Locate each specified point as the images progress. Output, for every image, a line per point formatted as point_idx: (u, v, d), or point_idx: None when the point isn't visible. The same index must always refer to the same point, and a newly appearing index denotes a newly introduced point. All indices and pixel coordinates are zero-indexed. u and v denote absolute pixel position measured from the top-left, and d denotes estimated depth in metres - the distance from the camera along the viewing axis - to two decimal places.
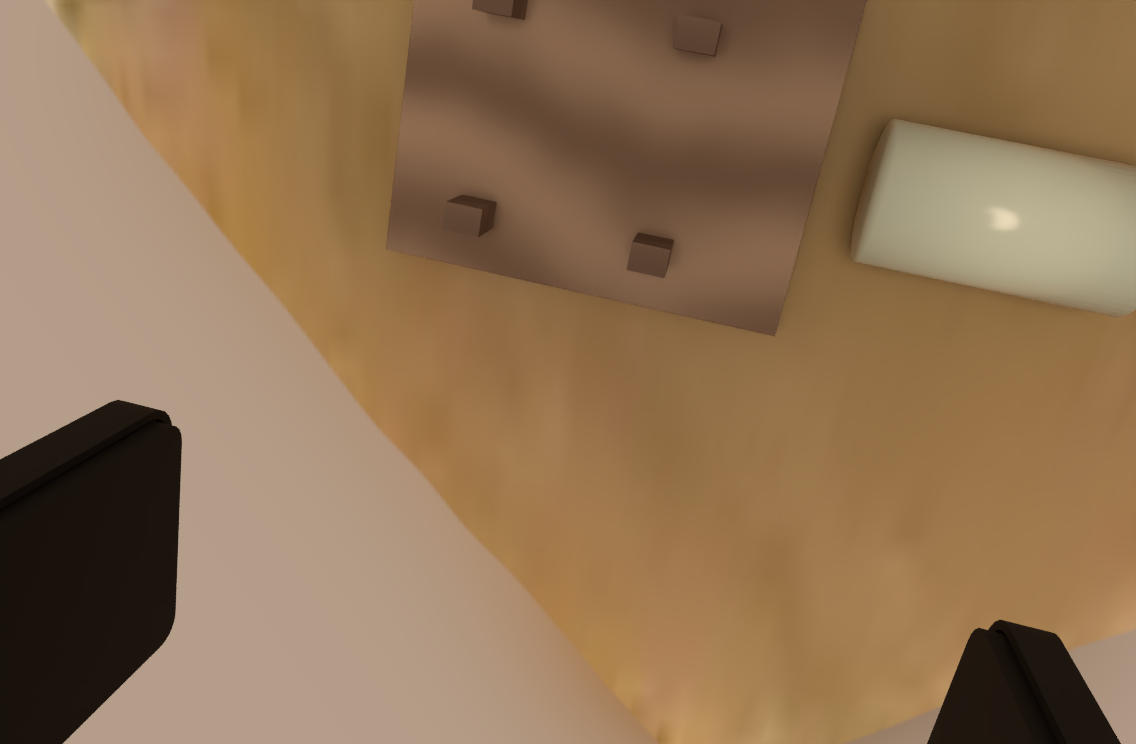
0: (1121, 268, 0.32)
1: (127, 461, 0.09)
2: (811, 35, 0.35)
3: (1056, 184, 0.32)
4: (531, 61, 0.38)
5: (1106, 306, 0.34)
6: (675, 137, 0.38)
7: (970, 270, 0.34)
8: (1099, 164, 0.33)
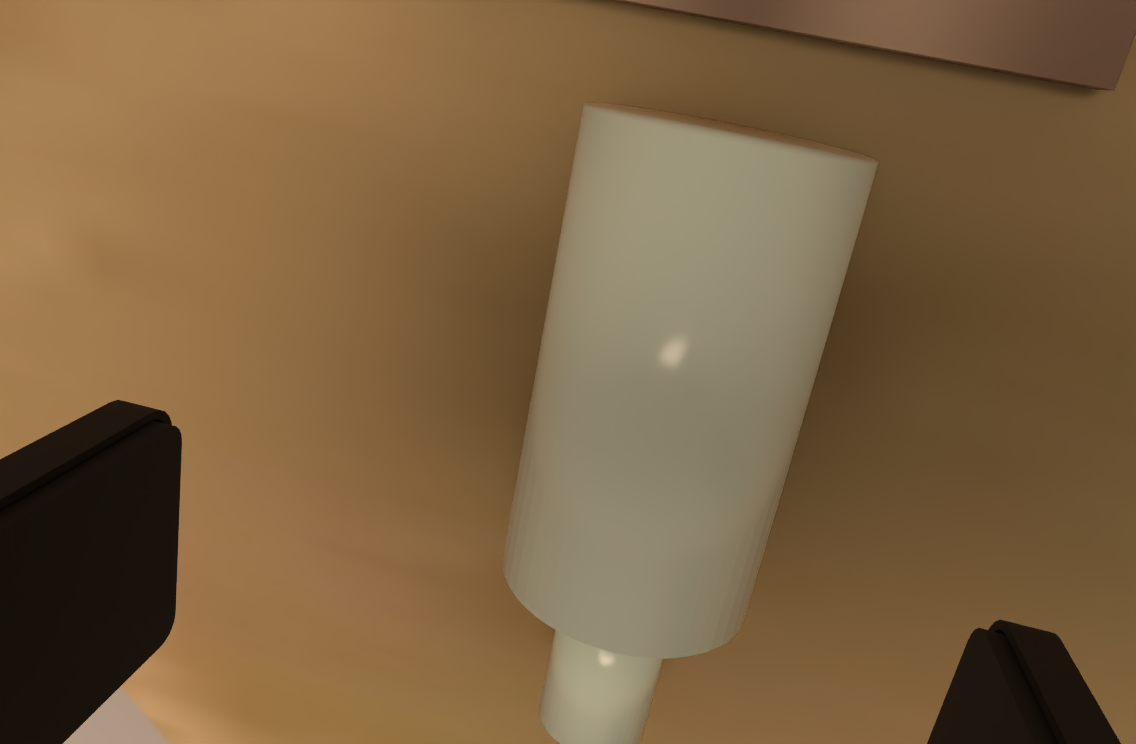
0: (591, 584, 0.18)
1: (127, 461, 0.09)
2: None
3: (748, 467, 0.17)
4: None
5: (520, 557, 0.19)
6: None
7: (576, 333, 0.17)
8: (771, 521, 0.18)
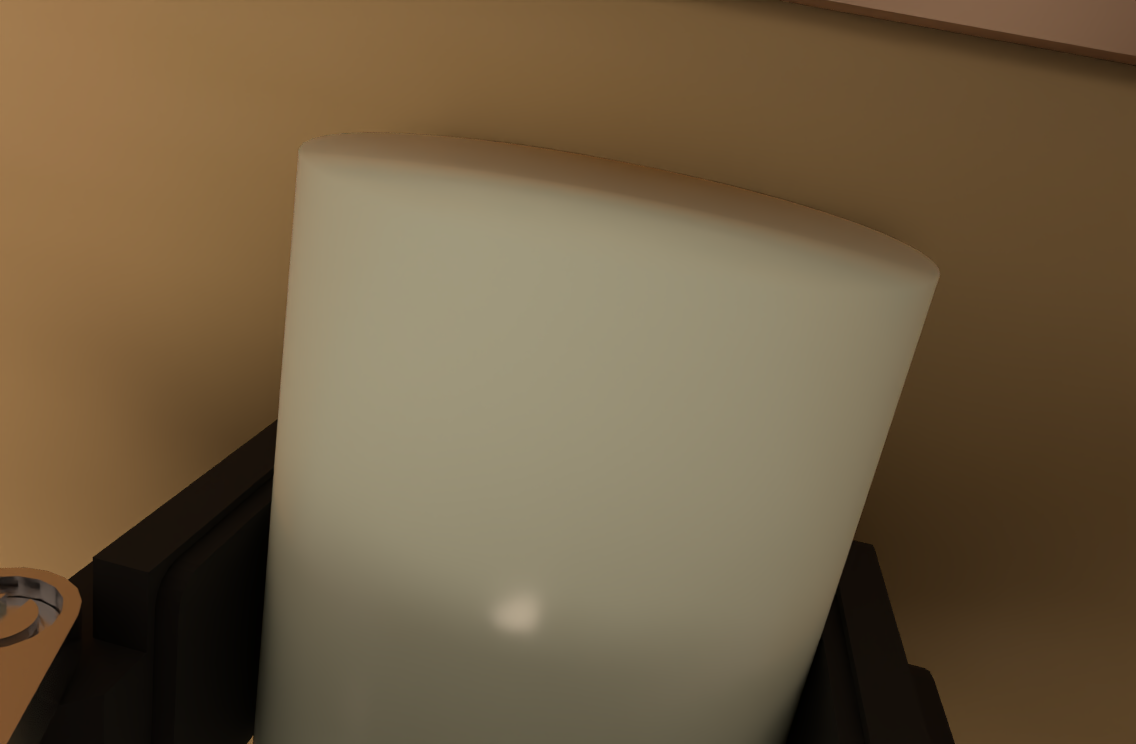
0: None
1: None
2: None
3: None
4: None
5: None
6: None
7: (288, 634, 0.08)
8: None
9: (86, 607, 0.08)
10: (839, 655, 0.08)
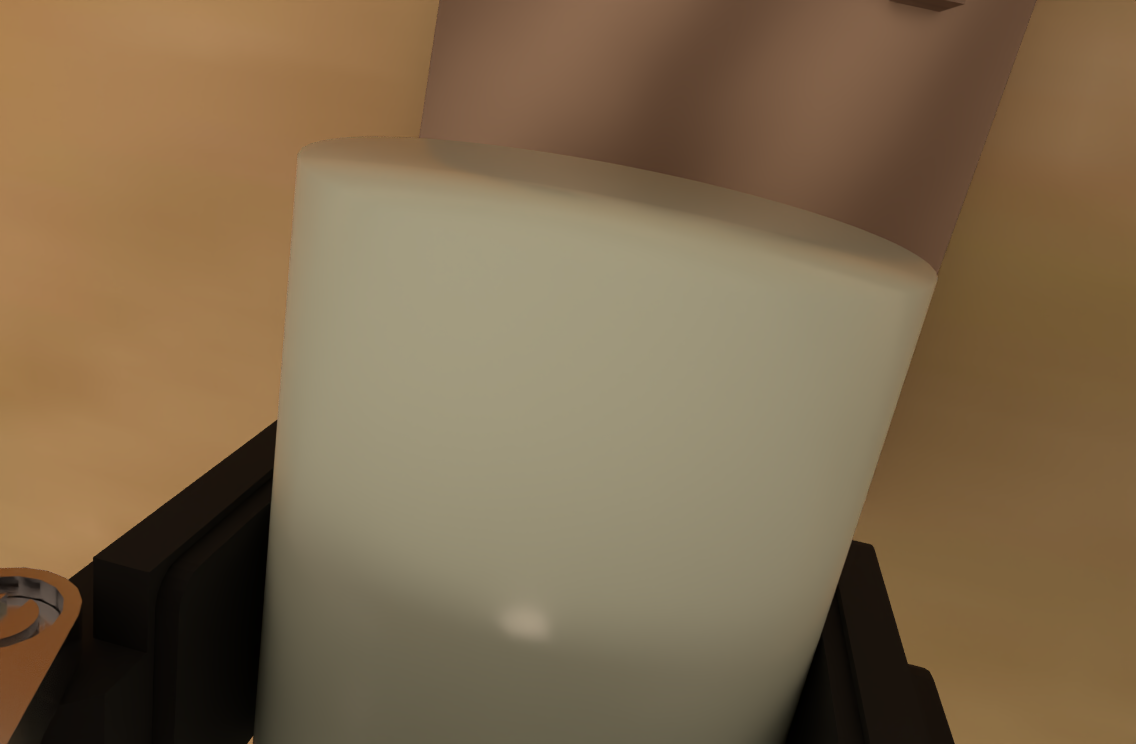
0: None
1: None
2: None
3: None
4: (817, 11, 0.22)
5: None
6: None
7: (286, 639, 0.08)
8: None
9: (86, 607, 0.08)
10: (839, 655, 0.08)
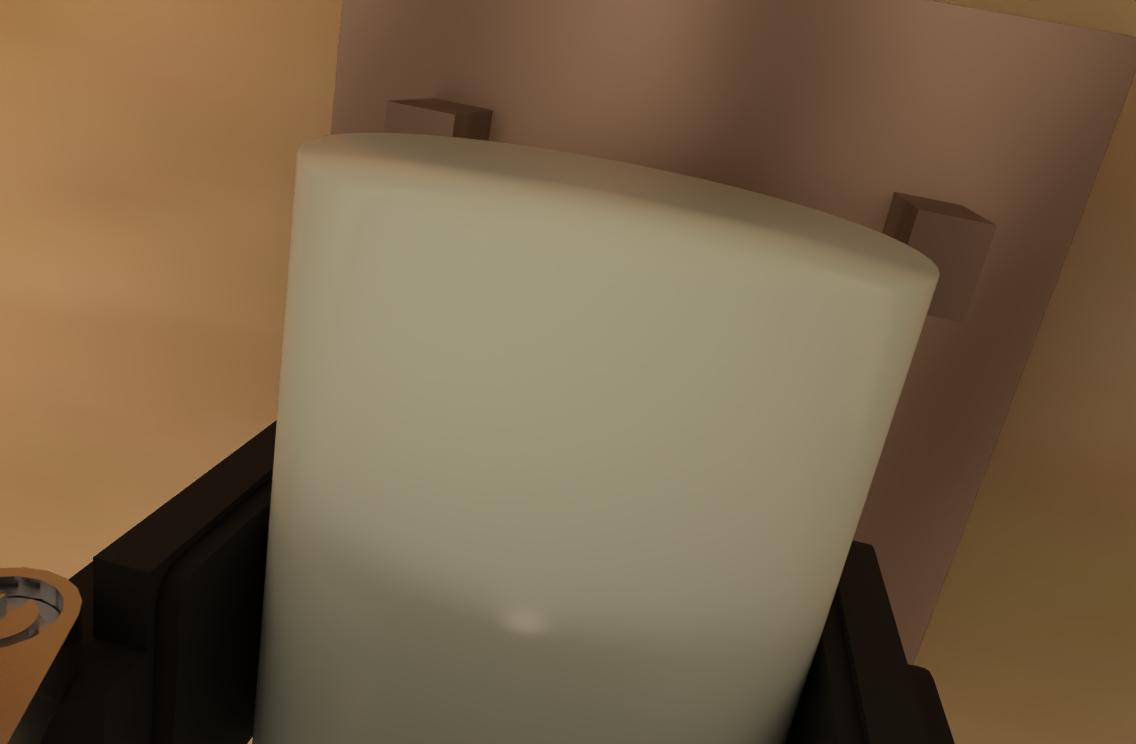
0: None
1: None
2: None
3: None
4: None
5: None
6: None
7: (286, 635, 0.08)
8: None
9: (87, 607, 0.08)
10: (839, 655, 0.08)
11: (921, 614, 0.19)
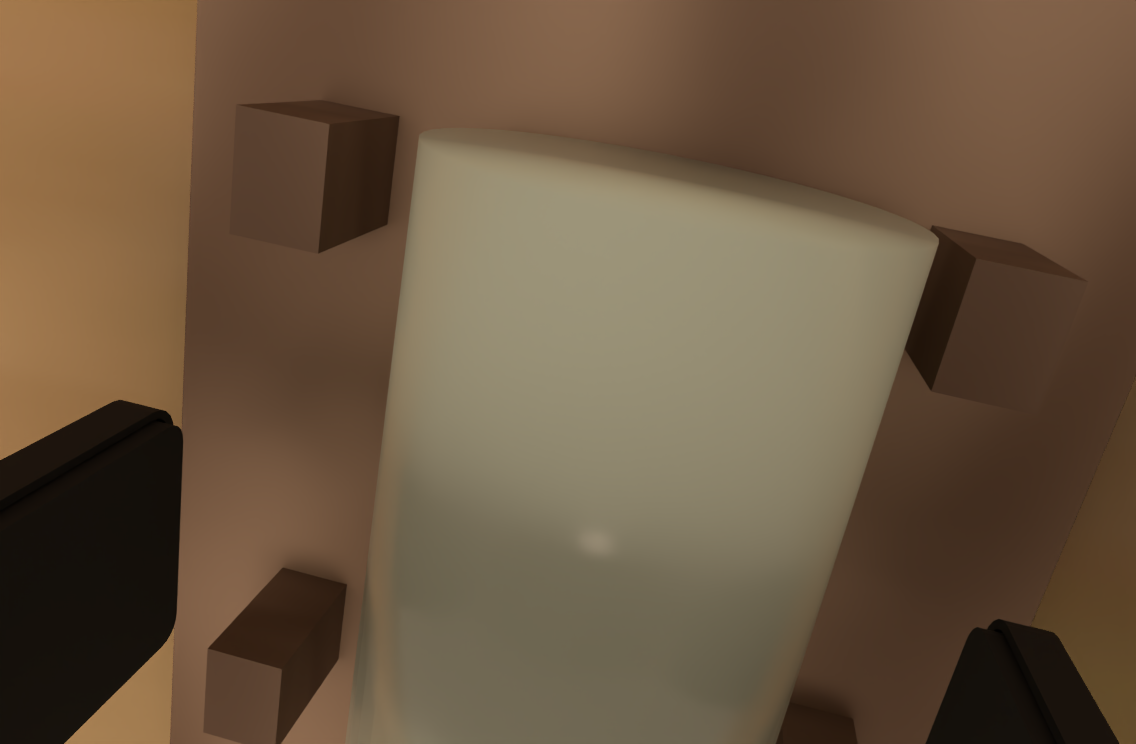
0: None
1: (129, 461, 0.09)
2: None
3: None
4: None
5: None
6: None
7: (418, 550, 0.09)
8: None
9: None
10: None
11: None
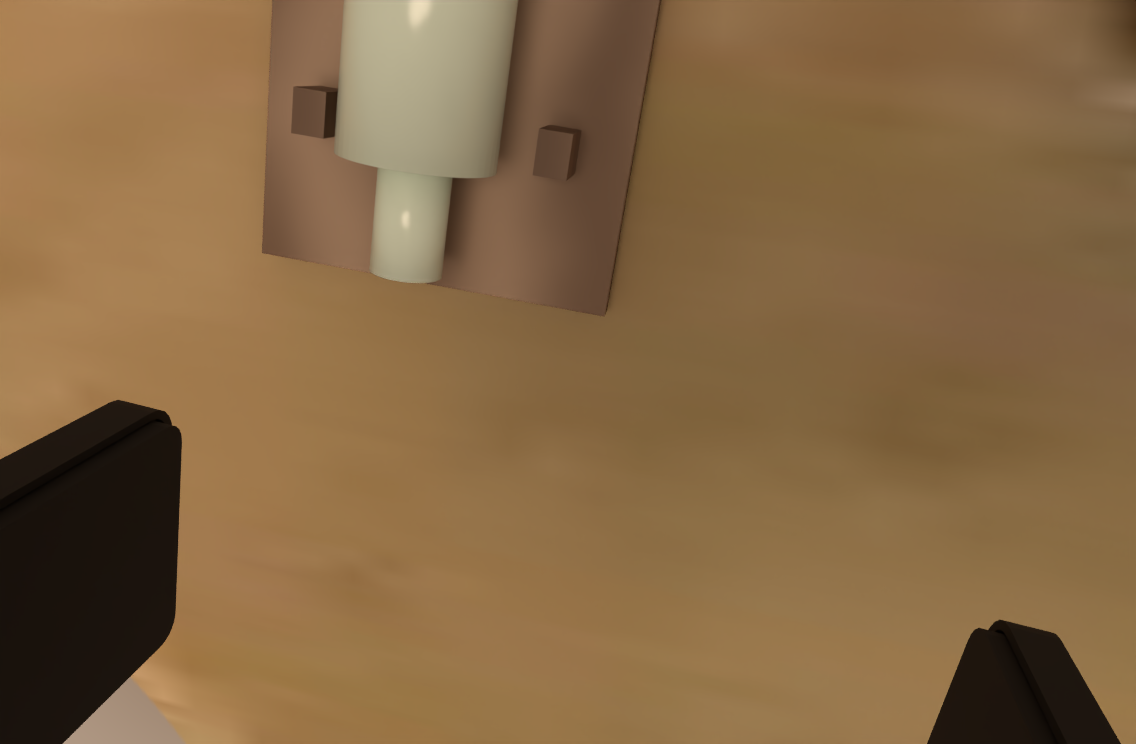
0: (367, 121, 0.29)
1: (127, 461, 0.09)
2: (566, 266, 0.35)
3: (454, 36, 0.28)
4: None
5: (336, 125, 0.30)
6: None
7: None
8: (488, 94, 0.29)
9: None
10: None
11: (628, 144, 0.33)
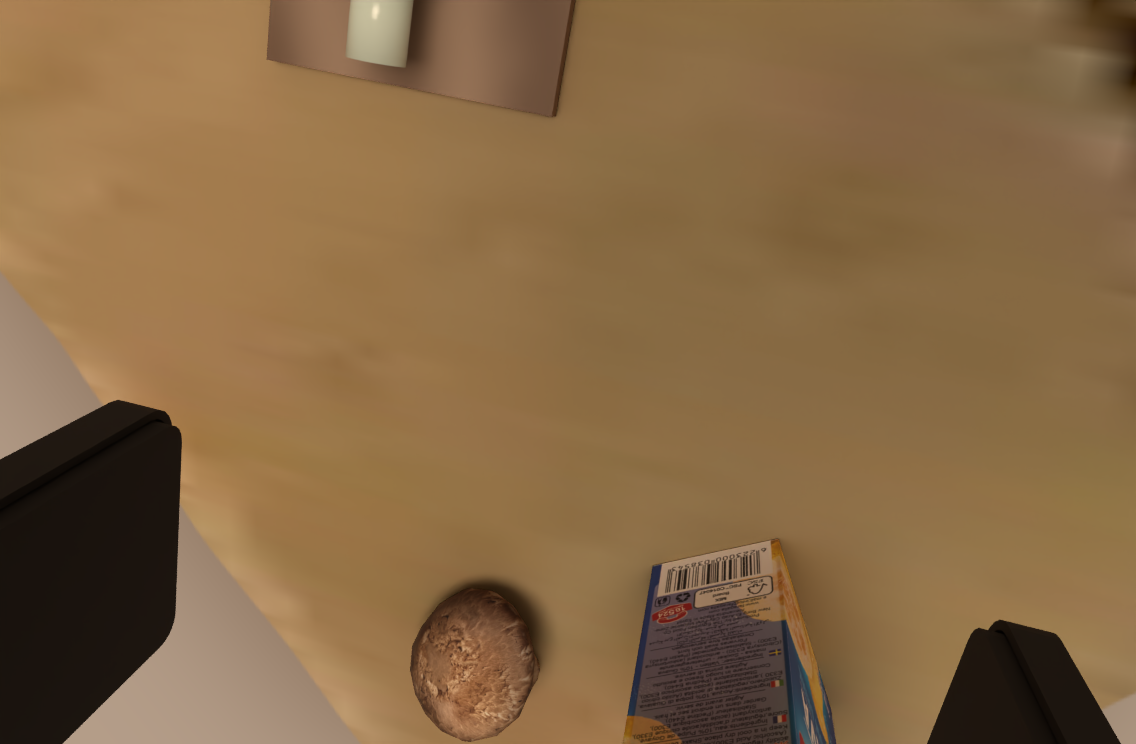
0: None
1: (127, 461, 0.09)
2: (520, 71, 0.41)
3: None
4: None
5: None
6: None
7: None
8: None
9: None
10: None
11: None
